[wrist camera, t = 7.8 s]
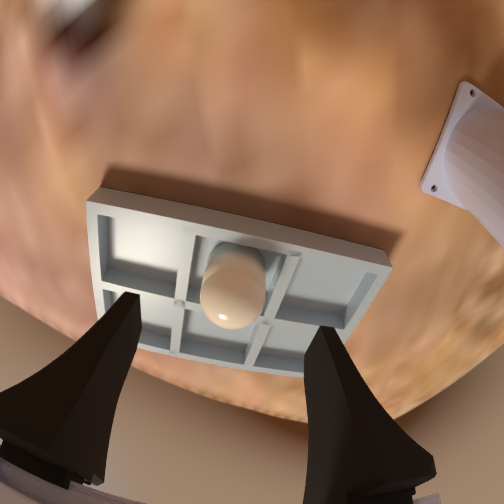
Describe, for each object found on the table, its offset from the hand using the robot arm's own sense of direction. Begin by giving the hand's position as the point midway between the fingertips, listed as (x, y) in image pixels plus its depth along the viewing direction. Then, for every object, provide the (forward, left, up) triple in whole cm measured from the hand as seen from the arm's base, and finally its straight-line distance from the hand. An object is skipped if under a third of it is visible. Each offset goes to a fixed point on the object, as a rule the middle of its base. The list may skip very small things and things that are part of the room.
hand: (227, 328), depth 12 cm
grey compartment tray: (0, +7, -9) cm, 12 cm away
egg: (0, +4, -9) cm, 10 cm away
